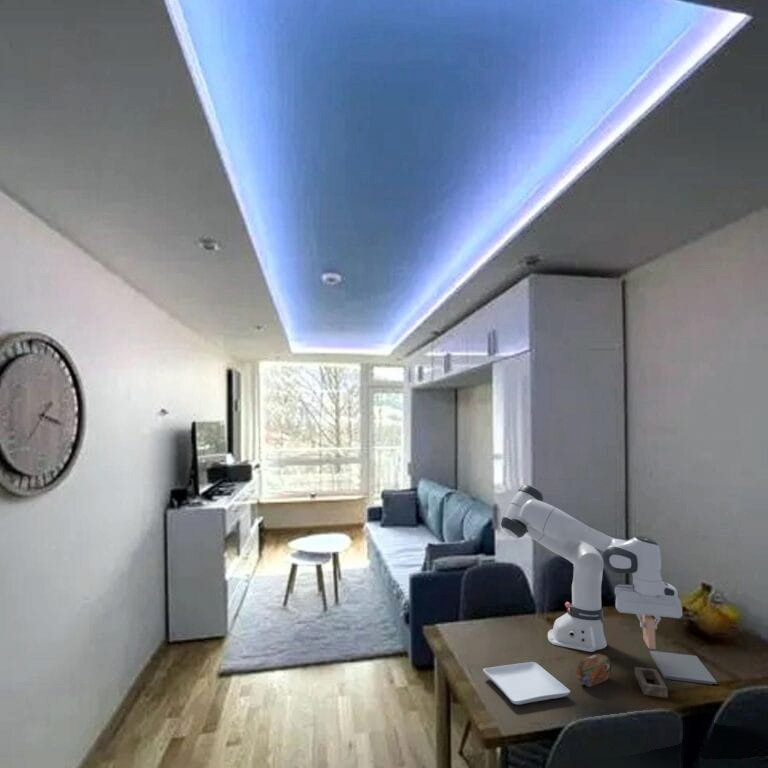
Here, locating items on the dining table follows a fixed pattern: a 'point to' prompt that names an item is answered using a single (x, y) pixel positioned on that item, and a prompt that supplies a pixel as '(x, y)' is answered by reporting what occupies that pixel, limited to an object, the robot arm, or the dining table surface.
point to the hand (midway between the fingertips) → (648, 627)
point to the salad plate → (526, 682)
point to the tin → (594, 669)
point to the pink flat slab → (649, 631)
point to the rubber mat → (682, 667)
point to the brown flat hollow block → (651, 689)
